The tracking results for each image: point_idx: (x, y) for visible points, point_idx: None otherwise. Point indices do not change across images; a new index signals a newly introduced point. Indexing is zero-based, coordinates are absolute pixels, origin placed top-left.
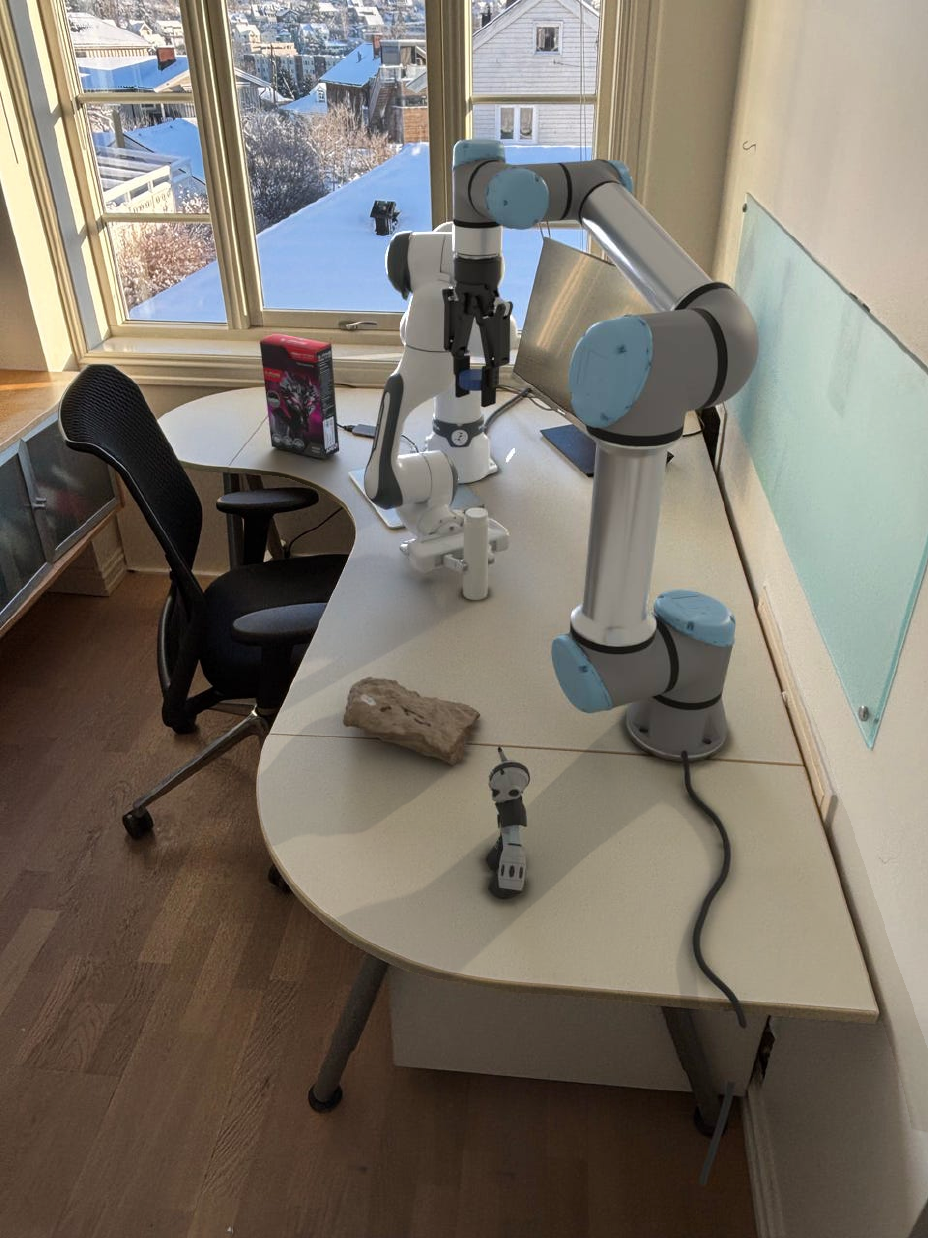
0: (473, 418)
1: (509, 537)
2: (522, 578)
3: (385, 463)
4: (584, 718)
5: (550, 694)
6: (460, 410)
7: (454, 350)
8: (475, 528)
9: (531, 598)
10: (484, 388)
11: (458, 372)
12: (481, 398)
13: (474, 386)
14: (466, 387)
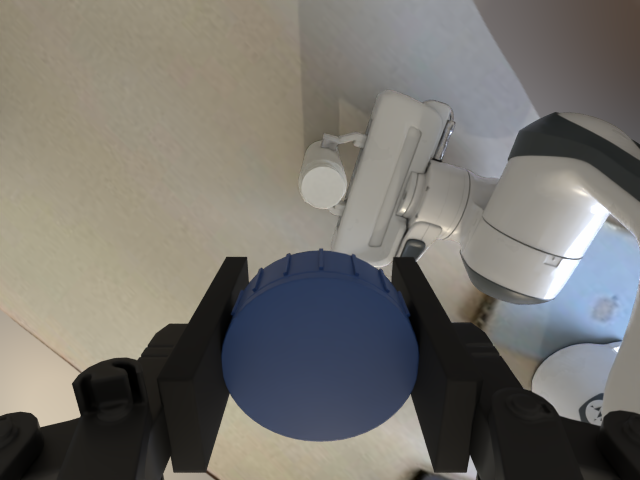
0: None
1: None
2: (304, 234)
3: (586, 144)
4: (5, 43)
5: (71, 50)
6: None
7: (527, 430)
8: (306, 164)
9: (259, 206)
10: (202, 300)
11: (420, 321)
12: (237, 272)
13: (256, 279)
14: (301, 256)
